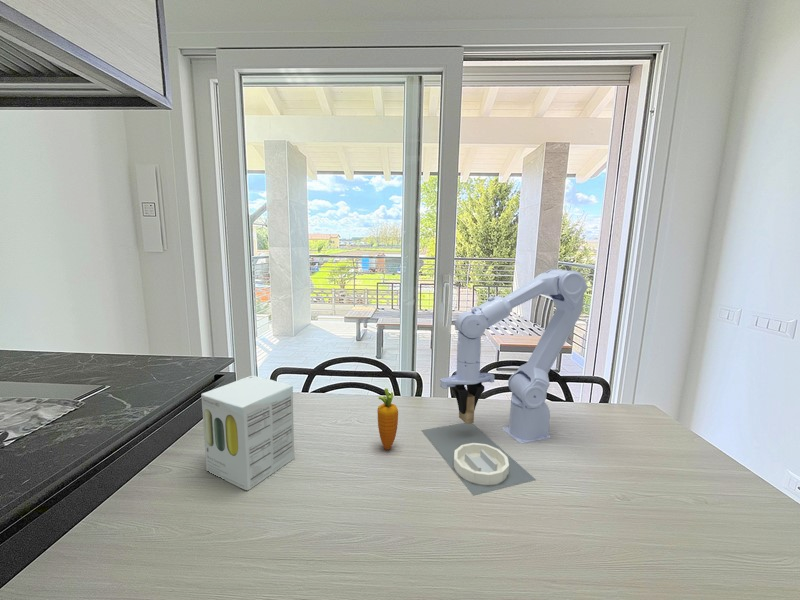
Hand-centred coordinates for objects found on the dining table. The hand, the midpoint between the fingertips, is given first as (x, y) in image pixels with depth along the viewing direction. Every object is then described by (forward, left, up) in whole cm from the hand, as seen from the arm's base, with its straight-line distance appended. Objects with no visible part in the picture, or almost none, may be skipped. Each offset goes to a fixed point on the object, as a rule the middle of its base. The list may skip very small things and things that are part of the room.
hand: (466, 411), depth 89 cm
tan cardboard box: (0, 0, -2) cm, 2 cm away
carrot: (+21, 0, -7) cm, 22 cm away
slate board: (+3, +7, -7) cm, 10 cm away
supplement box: (+51, -4, -7) cm, 52 cm away
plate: (+4, +13, -6) cm, 15 cm away
